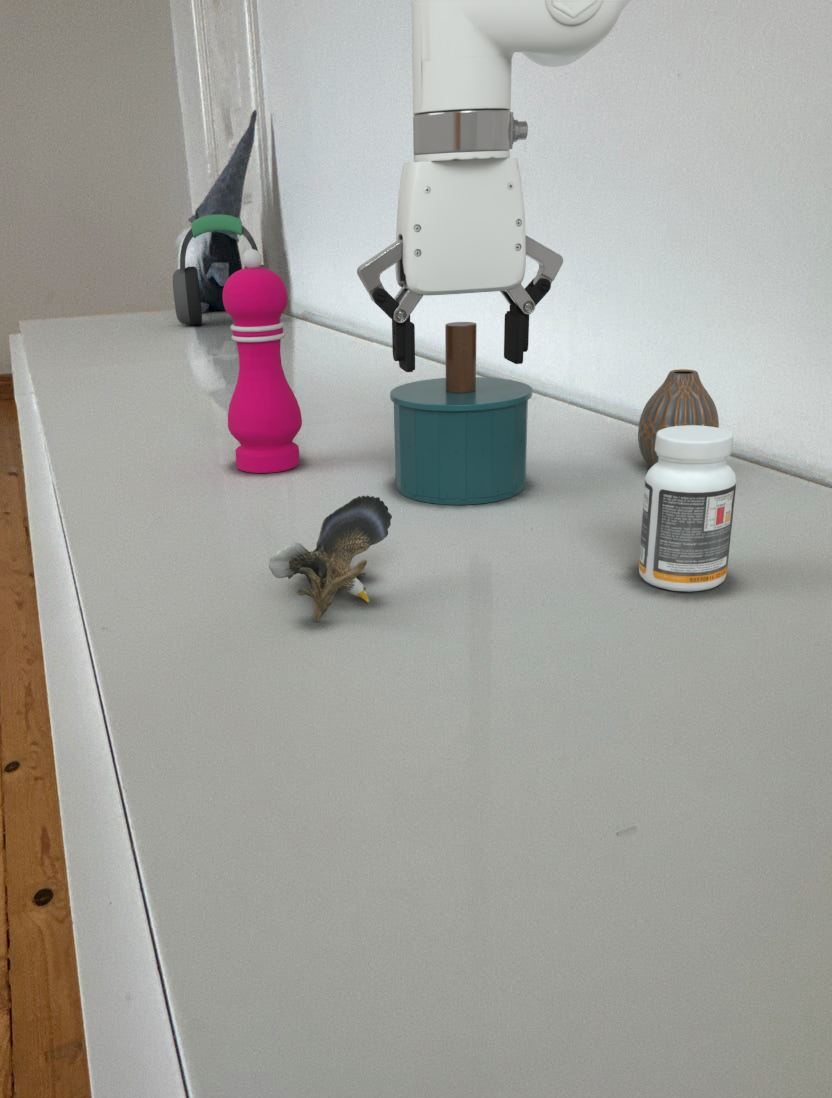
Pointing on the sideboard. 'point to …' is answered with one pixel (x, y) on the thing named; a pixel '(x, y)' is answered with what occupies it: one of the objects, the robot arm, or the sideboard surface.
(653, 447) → the vase
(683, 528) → the pill bottle
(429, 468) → the pot
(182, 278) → the headphones
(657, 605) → the sideboard surface
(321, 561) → the eagle figurine
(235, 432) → the pepper mill
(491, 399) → the lid
